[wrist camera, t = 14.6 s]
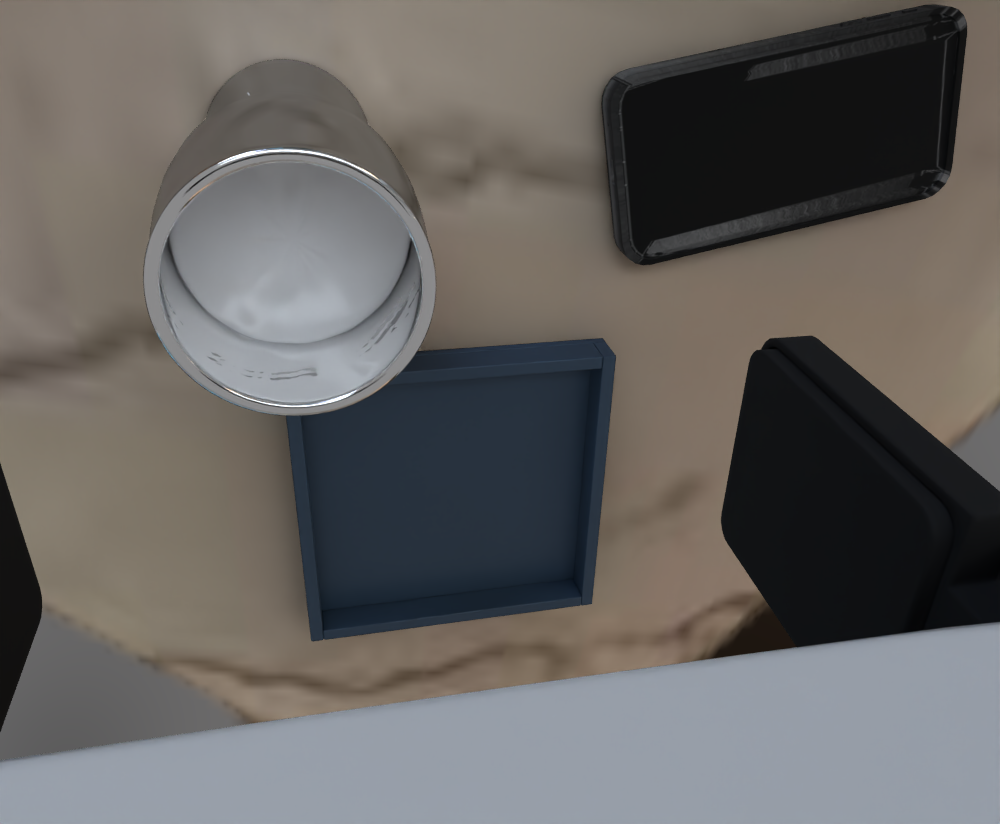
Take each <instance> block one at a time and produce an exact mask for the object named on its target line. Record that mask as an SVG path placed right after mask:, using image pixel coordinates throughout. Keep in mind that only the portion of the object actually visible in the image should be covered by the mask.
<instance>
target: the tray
mask: <svg viewBox="0 0 1000 824" xmlns="http://www.w3.org/2000/svg"><path fill="white" fill-rule="evenodd" d="M615 361H616V355H615V354H614V353H613V351H612V350H611V349H610V347H609V346H608V345H607V344H606V342H605V341H604V339H603V338H600V339H586V340H572V341H558V342H544V343H530V344H516V345H502V346H488V347H474V348H460V349H447V350H433V351H419V352H417V353H416V354H415V356H414V357H413V358H412V360H411V361H410V362H409V364H408V365H407V366H406V367H405V368H404V370H403V371H402V372H401V373H400V374H399V375H398V376H397V377H396V378H395V379H393V380H392V381H391V382H390V383H389V384H387V385H386V386H385V387H383V388H382V389H381V390H379V391H378V392H376V393H375V394H373V395H371V396H370V397H368V398H366V399H364V400H362V401H360V402H358V403H356V404H353V405H351V406H348V407H345V408H342V409H339V410H336V411H332V412H328V413H322V414H316V415H307V416H286V421H287V429H288V438H289V447H290V456H291V465H292V474H293V483H294V492H295V500H296V509H297V518H298V527H299V536H300V545H301V554H302V563H303V572H304V580H305V589H306V598H307V607H308V616H309V625H310V634H311V640H312V641H319V640H323V639H325V640H326V639H334V638H341V637H349V636H356V635H364V634H371V633H379V632H386V631H394V630H401V629H408V628H416V627H423V626H431V625H438V624H446V623H453V622H461V621H468V620H476V619H483V618H491V617H498V616H505V615H513V614H520V613H528V612H535V611H543V610H550V609H558V608H565V607H573V606H580V605H588V604H592V597H593V587H594V577H595V567H596V556H597V546H598V536H599V525H600V515H601V505H602V495H603V484H604V474H605V464H606V454H607V443H608V433H609V423H610V413H611V402H612V392H613V382H614V371H615Z"/></svg>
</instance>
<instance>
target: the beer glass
mask: <svg viewBox="0 0 1000 824" xmlns="http://www.w3.org/2000/svg"><path fill="white" fill-rule="evenodd" d="M143 288H144V296H145V302H146V306H147V310H148V314H149V317H150V320H151V322H152V325H153V327H154V330H155V332H156V334H157V336H158V338H159V340H160V341H161V343H162V345H163V346H164V348H165V349H166V351H167V352H168V354H169V355H170V356H171V358H172V359H173V360H174V361H175V363H176V364H177V365H178V366H179V367H180V368H181V369H182V370H183V371H184V372H185V373H186V374H187V375H188V376H189V377H190V378H192V379H193V380H194V381H195V382H196V383H198V384H199V385H200V386H202V387H203V388H204V389H206V390H208V391H209V392H211V393H212V394H214V395H216V396H218V397H219V398H221V399H223V400H225V401H228V402H230V403H232V404H235V405H237V406H240V407H243V408H246V409H249V410H252V411H256V412H261V413H266V414H272V415H281V416H307V415H316V414H322V413H328V412H332V411H336V410H339V409H342V408H345V407H348V406H351V405H353V404H356V403H358V402H360V401H362V400H364V399H366V398H368V397H370V396H371V395H373V394H375V393H376V392H378V391H379V390H381V389H382V388H383V387H385V386H386V385H387V384H389V383H390V382H391V381H392V380H393V379H395V378H396V377H397V376H398V375H399V374H400V373H401V372H402V371H403V370H404V368H405V367H406V366H407V365H408V364H409V362H410V361H411V360H412V358H413V357H414V356H415V354H416V353H417V351H418V349H419V348H420V346H421V344H422V342H423V340H424V338H425V336H426V334H427V331H428V329H429V326H430V323H431V320H432V316H433V312H434V307H435V300H436V270H435V263H434V258H433V254H432V250H431V247H430V244H429V241H428V236H427V231H426V227H425V222H424V218H423V214H422V211H421V208H420V205H419V202H418V199H417V197H416V194H415V191H414V188H413V186H412V184H411V181H410V179H409V177H408V175H407V173H406V172H405V170H404V168H403V167H402V165H401V163H400V162H399V160H398V159H397V157H396V156H395V154H394V152H393V151H392V150H391V148H390V147H389V146H388V144H387V143H386V142H385V141H384V139H383V138H382V137H381V136H380V135H379V134H378V133H377V132H376V131H375V130H374V129H373V128H372V127H371V126H369V125H368V122H367V119H366V116H365V114H364V112H363V110H362V108H361V106H360V104H359V103H358V101H357V99H356V98H355V97H354V95H353V94H352V93H351V92H350V90H349V89H348V88H347V87H346V86H345V85H344V84H343V83H342V82H341V81H339V80H338V79H337V78H336V77H334V76H333V75H331V74H330V73H328V72H327V71H325V70H323V69H321V68H319V67H317V66H315V65H312V64H309V63H306V62H302V61H297V60H290V59H274V60H267V61H262V62H259V63H255V64H253V65H250V66H248V67H246V68H244V69H242V70H241V71H239V72H237V73H236V74H235V75H233V76H232V77H231V78H230V79H229V80H228V81H227V82H226V83H225V84H224V85H223V86H222V87H221V88H220V90H219V91H218V92H217V94H216V95H215V97H214V99H213V101H212V103H211V105H210V107H209V110H208V112H207V116H206V119H205V120H204V121H203V122H202V123H200V124H199V125H198V126H197V127H196V128H195V129H194V130H193V131H192V132H191V133H190V135H189V136H188V137H187V138H186V139H185V141H184V142H183V144H182V145H181V147H180V148H179V150H178V151H177V153H176V155H175V156H174V158H173V160H172V161H171V163H170V165H169V167H168V169H167V171H166V173H165V175H164V177H163V180H162V183H161V186H160V189H159V192H158V195H157V199H156V202H155V206H154V210H153V215H152V221H151V227H150V233H149V240H148V244H147V248H146V252H145V258H144V266H143Z"/></svg>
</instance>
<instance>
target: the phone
mask: <svg viewBox="0 0 1000 824" xmlns="http://www.w3.org/2000/svg"><path fill="white" fill-rule="evenodd" d="M966 38H967V22H966V20H965V17H964V15H963V14H962V13H961V12H960V11H959V10H958V9H956V8H953V7H949V6H941V5H923V6H918V7H914V8H909V9H904V10H900V11H895V12H890V13H886V14H881V15H876V16H872V17H867V18H862V19H856V20H852V21H847V22H842V23H839V24H834V25H830V26H825V27H820V28H816V29H811V30H806V31H802V32H797V33H793V34H788V35H783V36H779V37H774V38H769V39H765V40H760V41H755V42H751V43H746V44H741V45H737V46H732V47H727V48H723V49H718V50H714V51H709V52H704V53H700V54H695V55H690V56H686V57H681V58H676V59H672V60H667V61H662V62H658V63H653V64H648V65H644V66H639V67H635V68H630V69H626V70H624V71H621V72H619V73H617V74H616V75H615V76H614V77H612V78H611V79H610V81H609V82H608V84H607V85H606V87H605V89H604V92H603V95H602V115H603V126H604V136H605V147H606V157H607V168H608V178H609V189H610V199H611V210H612V220H613V231H614V238H615V242H616V245H617V246H618V248H619V249H620V251H621V252H622V253H623V254H624V255H625V256H627V257H628V258H629V259H630V260H631V261H633V262H634V263H636V264H640V265H651V264H655V263H659V262H663V261H668V260H672V259H676V258H680V257H684V256H688V255H693V254H697V253H701V252H705V251H709V250H714V249H718V248H722V247H726V246H730V245H734V244H739V243H743V242H747V241H751V240H755V239H759V238H764V237H768V236H772V235H776V234H780V233H784V232H789V231H793V230H797V229H801V228H805V227H809V226H814V225H818V224H822V223H826V222H830V221H834V220H839V219H843V218H847V217H851V216H855V215H859V214H864V213H868V212H872V211H876V210H880V209H884V208H889V207H893V206H897V205H901V204H905V203H909V202H914V201H918V200H922V199H926V198H928V197H931V196H933V195H934V194H935V193H937V192H938V191H940V189H941V188H942V187H943V186H944V185H945V184H946V182H947V180H948V178H949V176H950V173H951V169H952V163H953V154H954V145H955V136H956V127H957V118H958V109H959V100H960V91H961V83H962V74H963V65H964V56H965V47H966Z"/></svg>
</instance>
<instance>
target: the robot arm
mask: <svg viewBox="0 0 1000 824" xmlns="http://www.w3.org/2000/svg"><path fill="white" fill-rule="evenodd" d="M721 525H722V531H723V534H724V537H725V540H726V542H727V543H728V545H729V546H730V548H731V549H732V551H733V552H734V554H735V555H736V557H737V558H738V560H739V561H740V563H741V564H742V566H743V567H744V569H745V570H746V572H747V573H748V575H749V576H750V578H751V579H752V581H753V582H754V584H755V585H756V587H757V588H758V590H759V591H760V593H761V594H762V596H763V597H764V599H765V600H766V602H767V603H768V605H769V606H770V608H771V609H772V611H773V612H774V614H775V615H776V616H777V618H778V620H779V621H780V622H781V624H782V626H783V627H784V628H785V630H786V632H787V633H788V634H789V636H790V638H791V639H792V640H793V642H794V643H795V645H796V646H797V648H789V649H782V650H774V651H767V652H759V653H752V654H744V655H737V656H730V657H722V658H715V659H708V660H701V661H693V662H686V663H679V664H672V665H664V666H657V667H650V668H643V669H635V670H628V671H621V672H614V673H606V674H599V675H592V676H585V677H578V678H570V679H563V680H556V681H549V682H542V683H534V684H527V685H520V686H513V687H506V688H499V689H492V690H485V691H478V692H470V693H463V694H456V695H449V696H442V697H435V698H428V699H421V700H414V701H407V702H400V703H393V704H386V705H379V706H372V707H365V708H358V709H351V710H344V711H337V712H330V713H323V714H316V715H309V716H302V717H295V718H288V719H281V720H273V721H266V722H259V723H252V724H245V725H238V726H232V727H225V728H218V729H212V730H205V731H198V732H191V733H184V734H177V735H171V736H163V737H156V738H150V739H143V740H137V741H129V742H122V743H116V744H108V745H102V746H95V747H88V748H81V749H74V750H67V751H60V752H53V753H46V754H40V755H33V756H26V757H19V758H13V759H5V760H0V824H1000V491H998V490H997V489H996V488H995V487H994V486H992V485H991V484H990V483H989V482H988V481H987V480H985V479H984V478H983V477H982V476H980V475H979V474H978V473H977V472H976V471H974V470H973V469H972V468H971V467H970V466H969V465H967V464H966V463H965V462H964V461H963V460H962V459H960V458H959V457H958V456H957V455H956V454H954V453H953V452H952V451H951V450H950V449H948V448H947V447H946V446H945V445H944V444H942V443H941V442H940V441H939V440H938V439H937V438H935V437H934V436H933V435H932V434H931V433H929V432H928V431H927V430H926V429H925V428H923V427H922V426H921V425H920V424H919V423H917V422H916V421H915V420H914V419H913V418H912V417H910V416H909V415H908V414H907V413H906V412H904V411H903V410H902V409H901V408H900V407H898V406H897V405H896V404H895V403H894V402H892V401H891V400H890V399H889V398H888V397H886V396H885V395H884V394H883V393H882V392H881V391H879V390H878V389H877V388H876V387H875V386H873V385H872V384H871V383H870V382H869V381H867V380H866V379H865V378H864V377H863V376H861V375H860V374H859V373H858V372H857V371H856V370H854V369H853V368H852V367H851V366H850V365H848V364H847V363H846V362H845V361H844V360H842V359H841V358H840V357H839V356H838V355H836V354H835V353H834V352H833V351H832V350H830V349H829V348H828V347H827V346H826V345H825V344H823V343H822V342H821V341H820V340H819V339H817V338H816V337H814V336H800V337H786V338H772V339H769V340H767V341H766V342H765V344H764V345H763V347H762V349H761V350H756V351H755V352H754V353H753V354H752V356H751V358H750V362H749V366H748V372H747V377H746V383H745V388H744V394H743V399H742V405H741V410H740V416H739V421H738V426H737V432H736V437H735V443H734V448H733V454H732V459H731V465H730V470H729V476H728V481H727V487H726V492H725V498H724V503H723V509H722V516H721ZM41 614H42V596H41V591H40V587H39V583H38V580H37V577H36V574H35V571H34V568H33V565H32V561H31V558H30V555H29V552H28V549H27V546H26V543H25V539H24V536H23V533H22V530H21V527H20V524H19V521H18V517H17V514H16V511H15V508H14V505H13V502H12V499H11V495H10V492H9V489H8V486H7V483H6V480H5V477H4V473H3V470H2V467H1V464H0V731H1V729H2V726H3V723H4V720H5V717H6V715H7V712H8V709H9V706H10V703H11V701H12V698H13V695H14V692H15V690H16V687H17V684H18V681H19V678H20V676H21V673H22V670H23V667H24V664H25V662H26V659H27V656H28V653H29V651H30V648H31V645H32V642H33V639H34V636H35V634H36V631H37V628H38V626H39V623H40V619H41Z"/></svg>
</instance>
